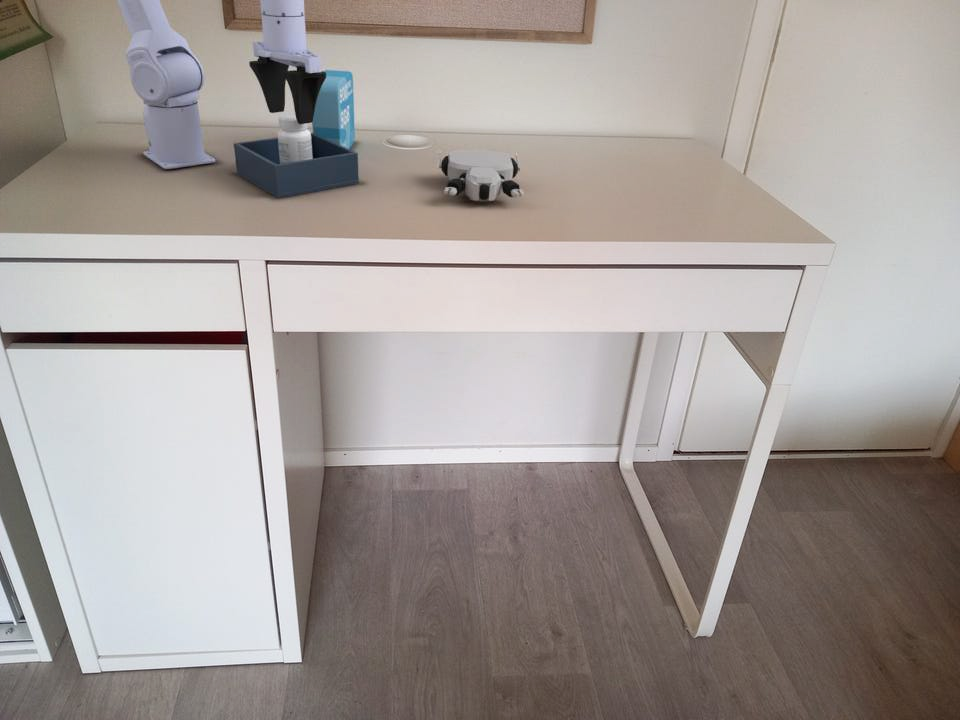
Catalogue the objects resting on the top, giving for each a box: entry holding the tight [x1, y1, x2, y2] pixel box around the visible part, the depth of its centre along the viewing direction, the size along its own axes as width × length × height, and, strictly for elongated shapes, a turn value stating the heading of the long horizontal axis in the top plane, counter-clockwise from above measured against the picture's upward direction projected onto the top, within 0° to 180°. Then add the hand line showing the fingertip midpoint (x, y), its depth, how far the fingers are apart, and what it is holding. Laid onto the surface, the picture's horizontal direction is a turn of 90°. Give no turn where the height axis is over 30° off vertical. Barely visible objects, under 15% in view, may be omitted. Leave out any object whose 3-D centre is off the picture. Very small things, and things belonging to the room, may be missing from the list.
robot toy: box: [438, 148, 525, 203], centre depth 109 cm, size 12×4×15 cm
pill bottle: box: [277, 113, 313, 164], centre depth 108 cm, size 5×5×8 cm
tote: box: [233, 132, 360, 199], centre depth 109 cm, size 13×13×5 cm
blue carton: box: [311, 69, 356, 149], centre depth 122 cm, size 12×4×12 cm, turn 178°
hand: (290, 117), depth 106 cm, fingers open, 7 cm apart
